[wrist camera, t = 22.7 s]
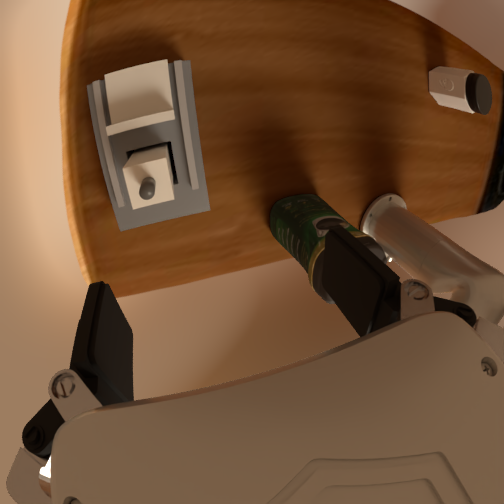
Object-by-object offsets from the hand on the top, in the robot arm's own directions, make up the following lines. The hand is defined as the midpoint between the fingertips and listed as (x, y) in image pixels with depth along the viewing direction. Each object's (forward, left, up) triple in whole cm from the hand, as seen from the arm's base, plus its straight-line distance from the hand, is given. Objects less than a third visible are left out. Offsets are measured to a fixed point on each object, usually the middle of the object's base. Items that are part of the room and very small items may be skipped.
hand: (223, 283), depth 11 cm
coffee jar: (-13, -16, -28) cm, 35 cm away
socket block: (+3, +4, -28) cm, 29 cm away
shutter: (+9, +4, -23) cm, 25 cm away
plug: (0, +4, -28) cm, 29 cm away
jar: (+12, -51, -28) cm, 60 cm away
